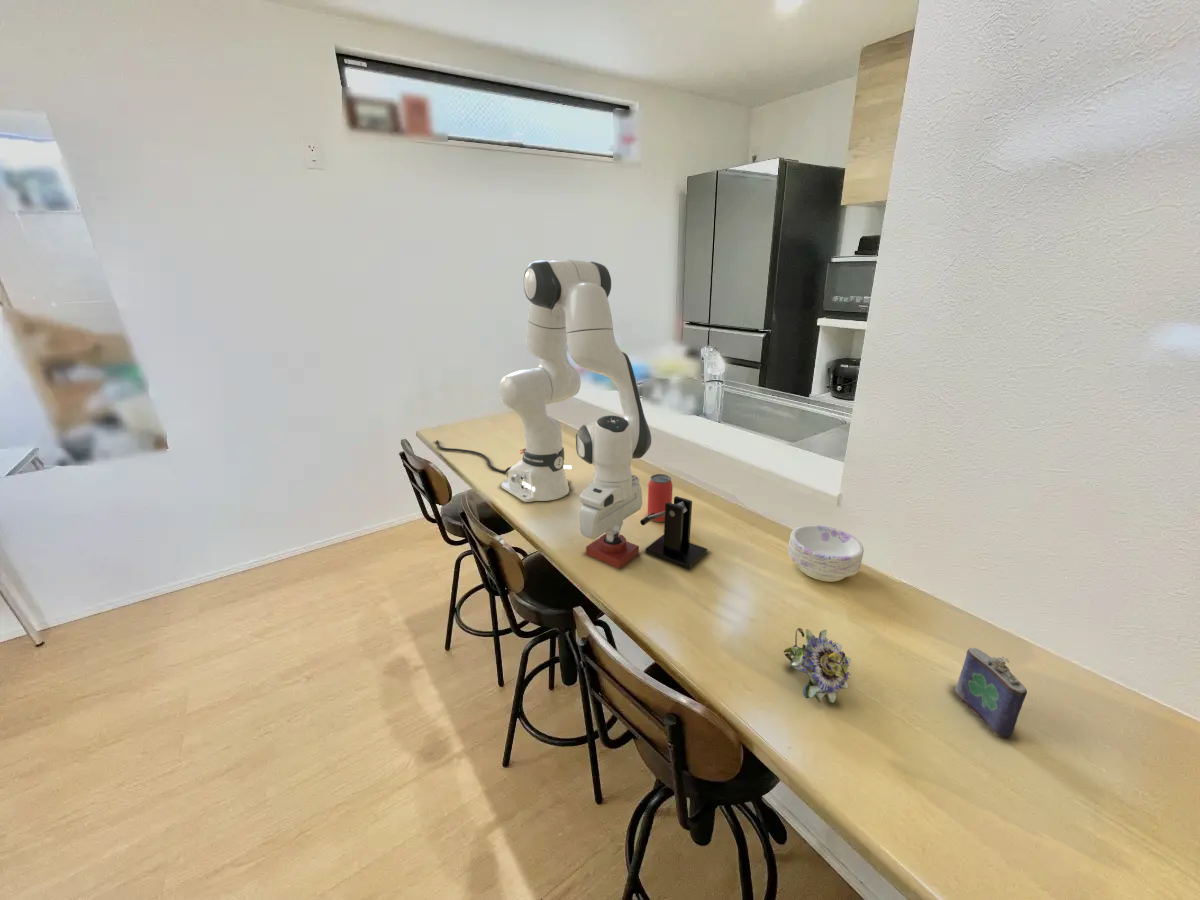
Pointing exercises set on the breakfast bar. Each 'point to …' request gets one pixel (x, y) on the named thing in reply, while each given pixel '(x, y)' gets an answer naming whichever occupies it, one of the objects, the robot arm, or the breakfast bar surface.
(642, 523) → the lever
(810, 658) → the passion flower
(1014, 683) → the flask
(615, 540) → the button
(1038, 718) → the breakfast bar surface
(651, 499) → the beer can
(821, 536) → the paper bowls
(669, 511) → the bracket
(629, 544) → the button box
